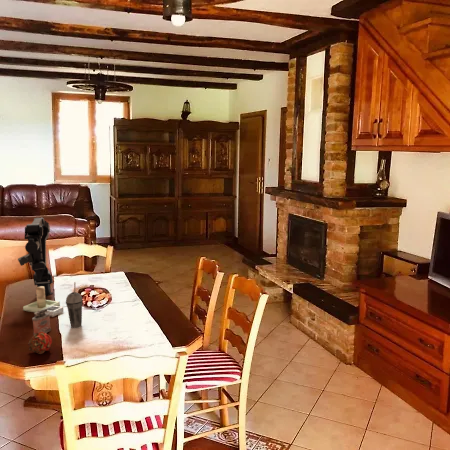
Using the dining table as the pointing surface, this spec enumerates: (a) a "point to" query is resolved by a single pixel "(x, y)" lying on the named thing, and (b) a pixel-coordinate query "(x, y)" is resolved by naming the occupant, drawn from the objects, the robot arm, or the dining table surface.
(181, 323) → the dining table surface
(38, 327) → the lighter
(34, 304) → the tray
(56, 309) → the pin socket
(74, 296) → the beverage cup
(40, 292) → the pin
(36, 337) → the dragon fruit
